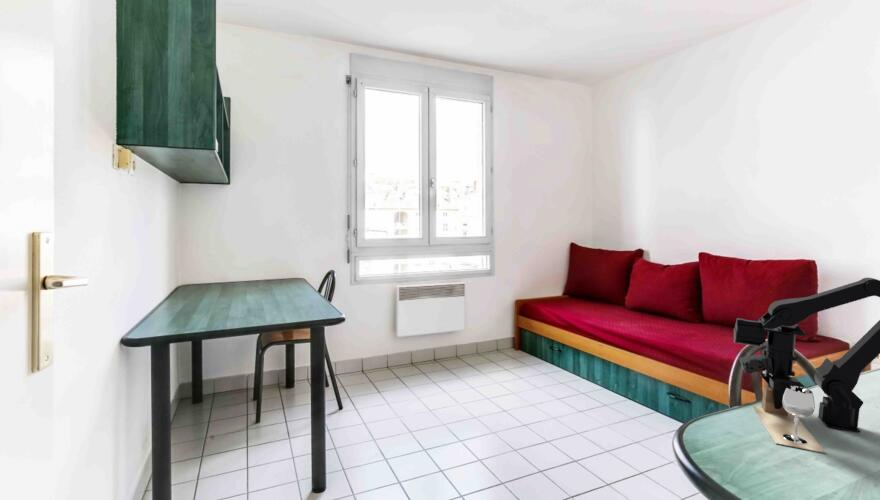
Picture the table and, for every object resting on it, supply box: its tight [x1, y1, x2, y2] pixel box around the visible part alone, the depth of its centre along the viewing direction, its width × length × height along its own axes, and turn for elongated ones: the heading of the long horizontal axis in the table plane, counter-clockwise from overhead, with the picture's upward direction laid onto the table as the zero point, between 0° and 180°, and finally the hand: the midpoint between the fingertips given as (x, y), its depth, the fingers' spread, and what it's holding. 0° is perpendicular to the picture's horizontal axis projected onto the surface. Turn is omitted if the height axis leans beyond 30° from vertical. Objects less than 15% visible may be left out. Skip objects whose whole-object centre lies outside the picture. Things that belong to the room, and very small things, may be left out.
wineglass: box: [782, 386, 815, 444], centre depth 101 cm, size 6×6×12 cm
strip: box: [752, 385, 827, 454], centre depth 107 cm, size 9×22×6 cm, turn 156°
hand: (775, 406), depth 115 cm, fingers closed on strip, 3 cm apart
